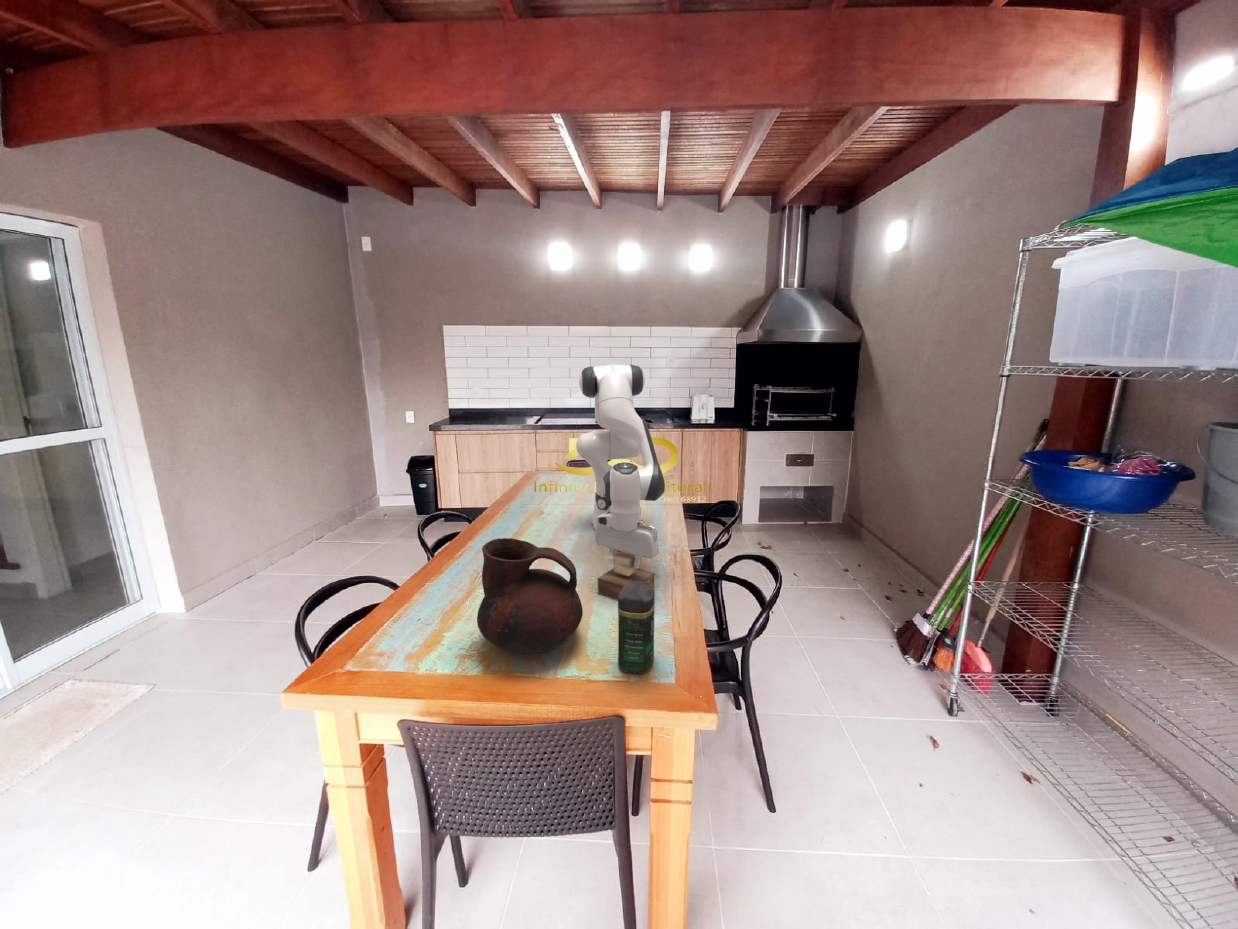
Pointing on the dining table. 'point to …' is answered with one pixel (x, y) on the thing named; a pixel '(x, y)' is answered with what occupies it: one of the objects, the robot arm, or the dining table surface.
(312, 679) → the dining table surface
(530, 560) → the jug
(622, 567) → the beige wooden cube
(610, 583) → the walnut block
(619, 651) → the coffee jar
